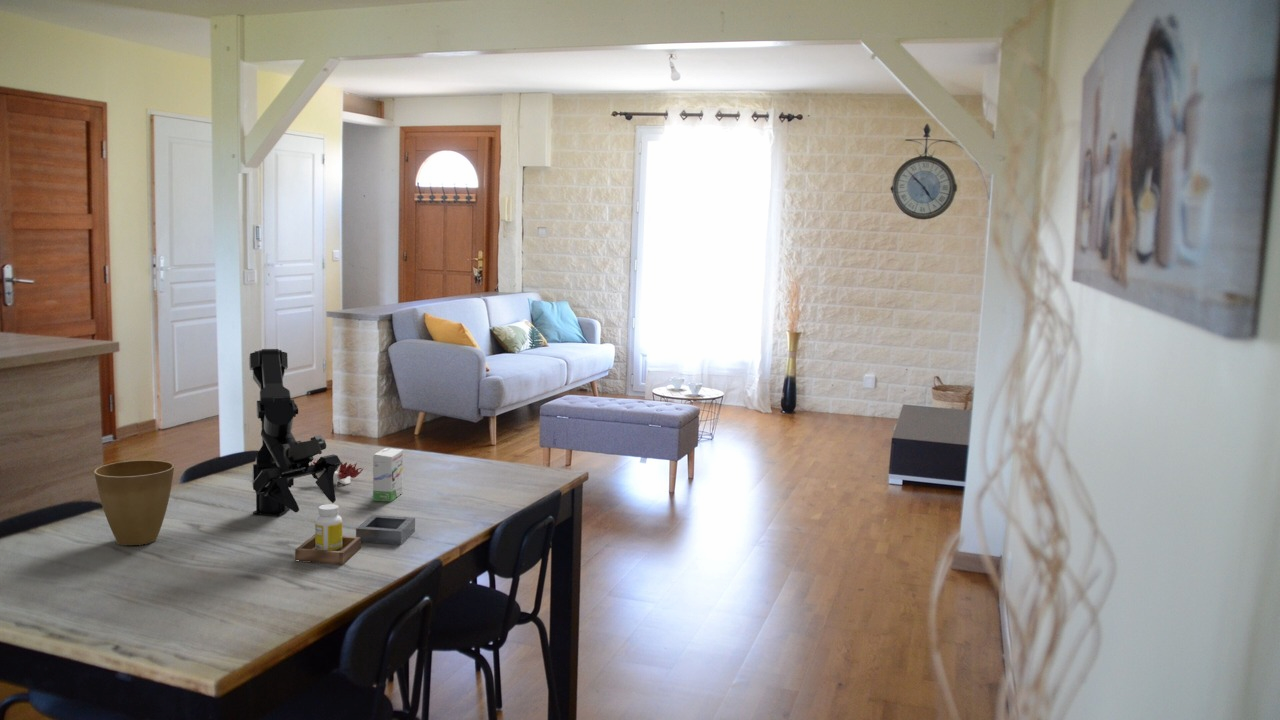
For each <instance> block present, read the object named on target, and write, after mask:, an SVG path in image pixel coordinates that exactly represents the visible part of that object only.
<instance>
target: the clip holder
mask: <svg viewBox="0 0 1280 720" xmlns="http://www.w3.org/2000/svg"><path fill="white" fill-rule="evenodd" d="M415 529H416V517H409V516H406V517H405V516H395V515H394V516H393V515H391V516H390V515H376V514H371V515H370V516H368V518H367V519H365V520H364V521H363V522H362V523H360V525H358V526H357V527H356V528H355V537H361V543H367V544H369V543H371V544H381V545H382V544H386V545H398V546H399V545H400V546H401V545H403V543H405V541H406V540H407V539H408V538H409V537H410V536H411V535H412V534H413V533H414V532H415V531H416V530H415Z"/></svg>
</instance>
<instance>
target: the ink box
mask: <svg viewBox="0 0 1280 720" xmlns="http://www.w3.org/2000/svg"><path fill="white" fill-rule="evenodd" d="M372 458H373V459H372V462H373V464H372V466H373V467H372V473H373V474H372V475H373V477H372V500H373V501H375V502H376V501H377V502H389V503H391V502H393V501H394V500H396V499H397V498H398V497H400V496H401V495H402V494H403V489H404V487H403V485H404V484H403V480H404V479H403V478H404V477H403V475H404V474H403V473H404V470H403V469H404V449H401V448H400V449H399V448H392V447H384V448H383V449H380V450H378V451H377V452H376V453H374V455H373V456H372ZM400 494H401V495H400ZM396 497H397V498H396Z"/></svg>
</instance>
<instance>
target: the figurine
mask: <svg viewBox="0 0 1280 720" xmlns="http://www.w3.org/2000/svg"><path fill="white" fill-rule="evenodd" d="M319 458H320V457H317V459H316V458H314V459H313V461H312V462H310V465H314V464H315V463H316V462H317V461H318V460H319ZM315 461H316V462H315ZM357 465H358V462H355V463H354V464H352V463H349V464H348V462H347V461H345V462H344V463H343V462H341V465H340V466H339V468H338V469H339V470H338V471H337V470H336V471H335V473H334V476H333V481H334V485H335V487H337V485H338V483H340V484H342V485H349V483H350V484H351V478H352V479H355V478H357V477H358V476H359V475H360V474H361V473H362V471H363V470H364V468H362V467H359V468H356V467H357ZM359 470H360V471H359Z"/></svg>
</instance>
